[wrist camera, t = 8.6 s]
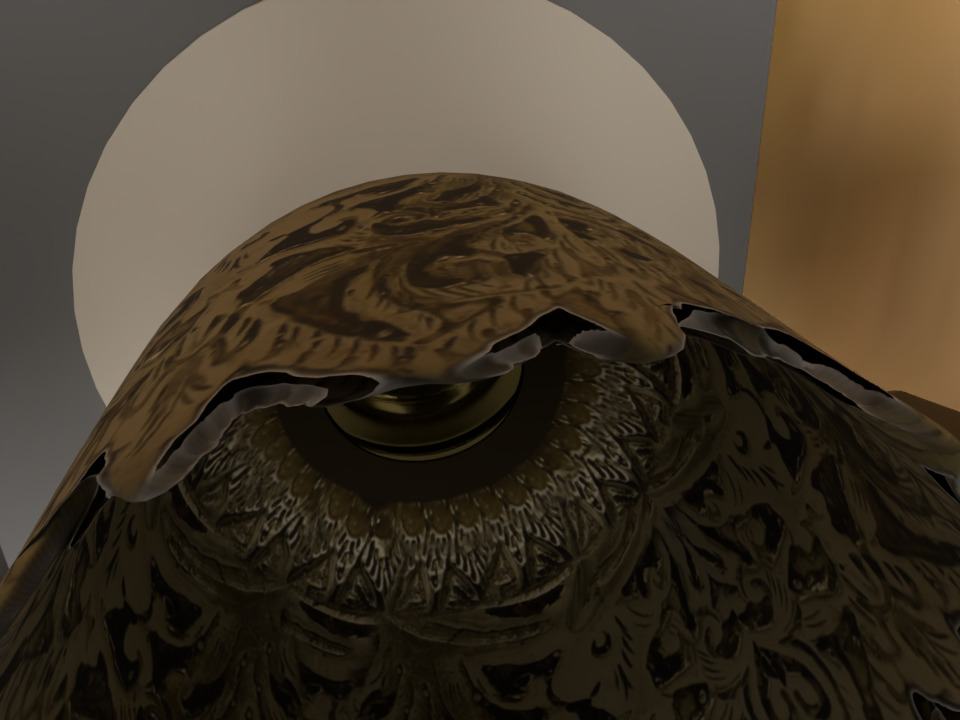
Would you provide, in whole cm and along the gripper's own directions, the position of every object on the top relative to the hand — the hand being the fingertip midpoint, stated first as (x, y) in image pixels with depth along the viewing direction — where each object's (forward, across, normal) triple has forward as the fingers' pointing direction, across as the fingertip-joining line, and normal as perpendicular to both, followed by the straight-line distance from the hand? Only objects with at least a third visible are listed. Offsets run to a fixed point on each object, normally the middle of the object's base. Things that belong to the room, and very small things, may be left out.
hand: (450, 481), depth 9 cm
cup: (+4, 0, 0) cm, 4 cm away
